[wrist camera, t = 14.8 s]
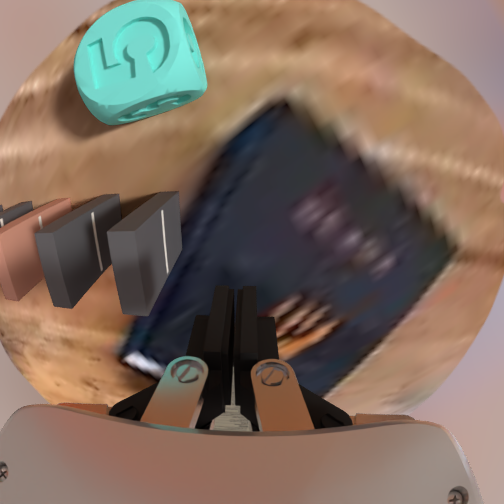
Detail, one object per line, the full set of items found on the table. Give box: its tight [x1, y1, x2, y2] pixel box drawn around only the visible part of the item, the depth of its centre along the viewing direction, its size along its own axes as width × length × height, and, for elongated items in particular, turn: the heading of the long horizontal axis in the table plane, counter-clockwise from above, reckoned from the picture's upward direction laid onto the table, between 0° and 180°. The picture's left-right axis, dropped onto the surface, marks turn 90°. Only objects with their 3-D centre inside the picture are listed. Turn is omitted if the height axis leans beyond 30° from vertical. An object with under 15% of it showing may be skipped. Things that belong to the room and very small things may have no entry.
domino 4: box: [107, 191, 182, 316], centre depth 21 cm, size 2×6×11 cm, turn 179°
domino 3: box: [34, 194, 122, 309], centre depth 21 cm, size 2×6×11 cm, turn 179°
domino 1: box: [0, 201, 33, 228], centre depth 21 cm, size 2×6×11 cm, turn 179°
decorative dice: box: [74, 0, 207, 125], centre depth 17 cm, size 8×8×8 cm
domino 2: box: [0, 198, 72, 301], centre depth 21 cm, size 2×6×11 cm, turn 179°
